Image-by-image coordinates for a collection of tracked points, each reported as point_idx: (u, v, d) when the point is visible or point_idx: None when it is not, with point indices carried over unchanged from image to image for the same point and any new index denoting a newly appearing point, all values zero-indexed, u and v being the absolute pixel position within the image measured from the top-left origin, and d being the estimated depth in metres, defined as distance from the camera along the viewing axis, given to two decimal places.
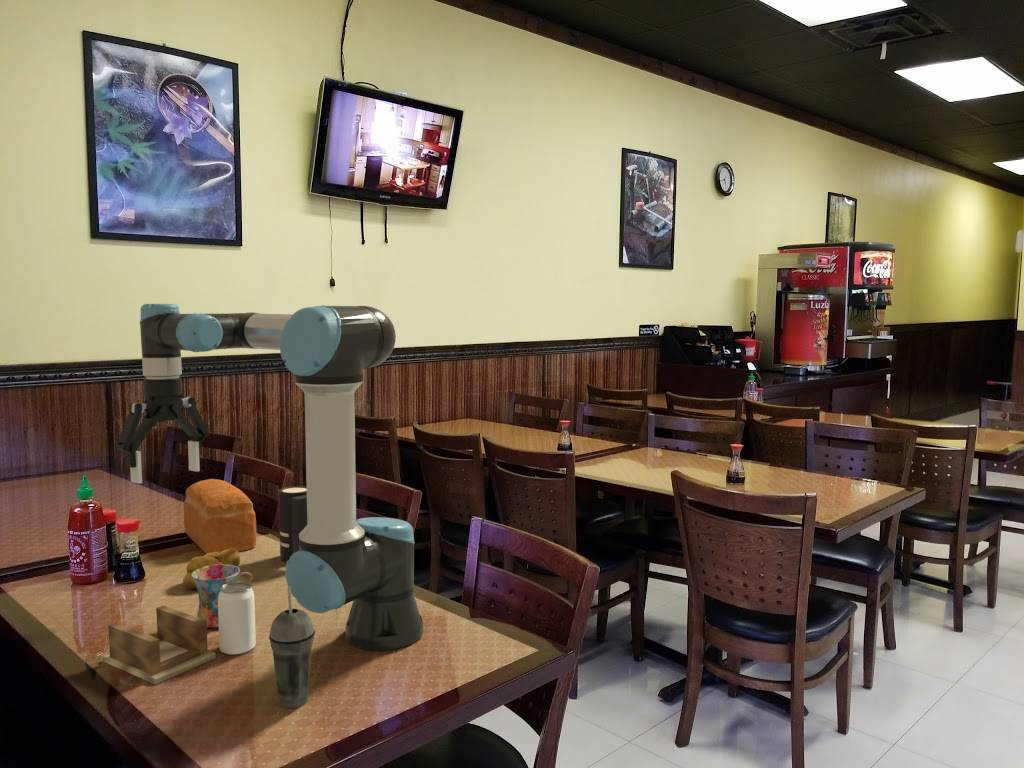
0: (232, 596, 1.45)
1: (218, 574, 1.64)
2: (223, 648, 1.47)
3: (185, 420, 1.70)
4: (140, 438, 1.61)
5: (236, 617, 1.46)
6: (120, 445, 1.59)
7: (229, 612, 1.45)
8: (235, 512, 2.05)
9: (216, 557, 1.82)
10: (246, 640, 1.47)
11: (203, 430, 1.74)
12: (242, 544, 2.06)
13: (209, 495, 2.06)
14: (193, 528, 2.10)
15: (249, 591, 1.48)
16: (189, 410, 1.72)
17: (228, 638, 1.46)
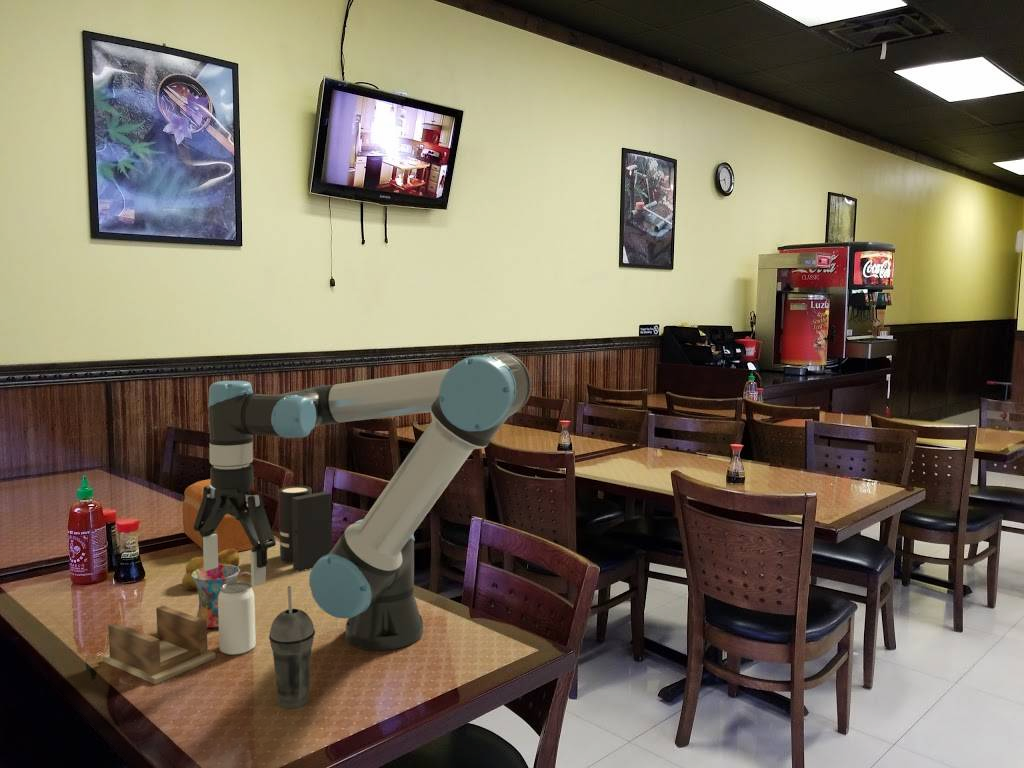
0: (232, 596, 1.45)
1: (218, 574, 1.64)
2: (223, 648, 1.47)
3: (242, 520, 1.43)
4: (206, 523, 1.49)
5: (236, 617, 1.46)
6: None
7: (229, 612, 1.45)
8: None
9: None
10: (246, 640, 1.47)
11: (259, 540, 1.41)
12: (243, 544, 2.06)
13: None
14: (193, 528, 2.10)
15: (249, 591, 1.48)
16: None
17: (228, 638, 1.46)
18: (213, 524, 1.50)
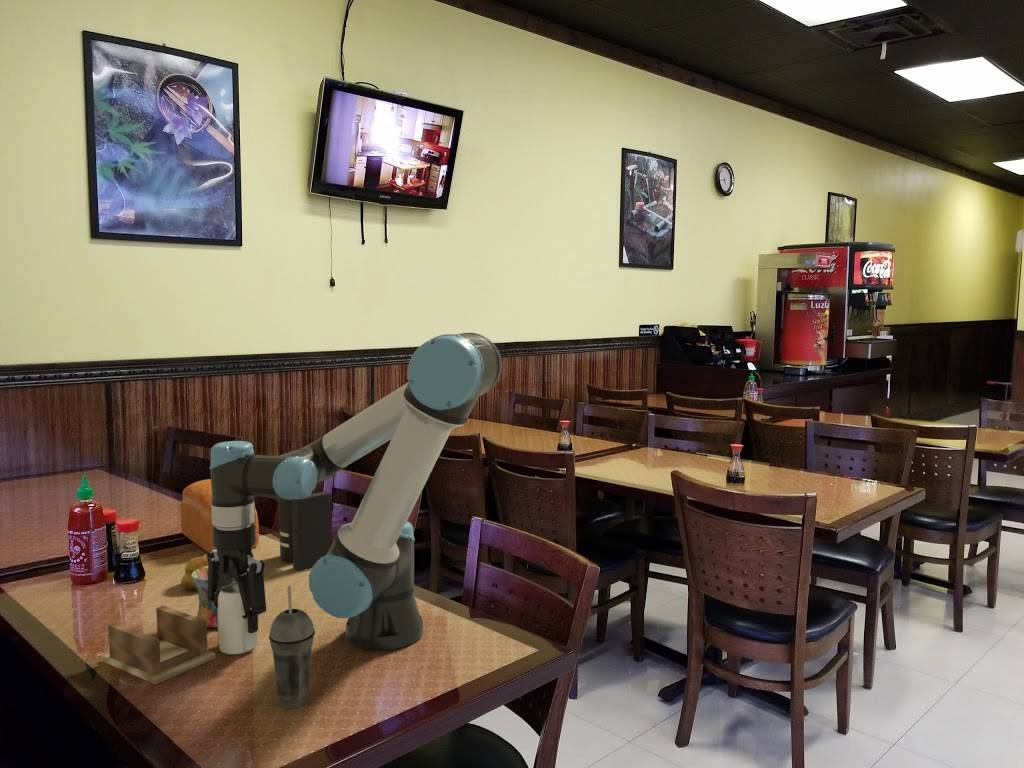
0: (232, 596, 1.45)
1: None
2: (223, 648, 1.47)
3: (240, 584, 1.45)
4: (217, 592, 1.49)
5: (236, 617, 1.46)
6: None
7: (229, 612, 1.45)
8: None
9: None
10: None
11: (251, 605, 1.44)
12: None
13: (211, 495, 2.06)
14: (193, 529, 2.10)
15: None
16: None
17: (228, 638, 1.46)
18: None
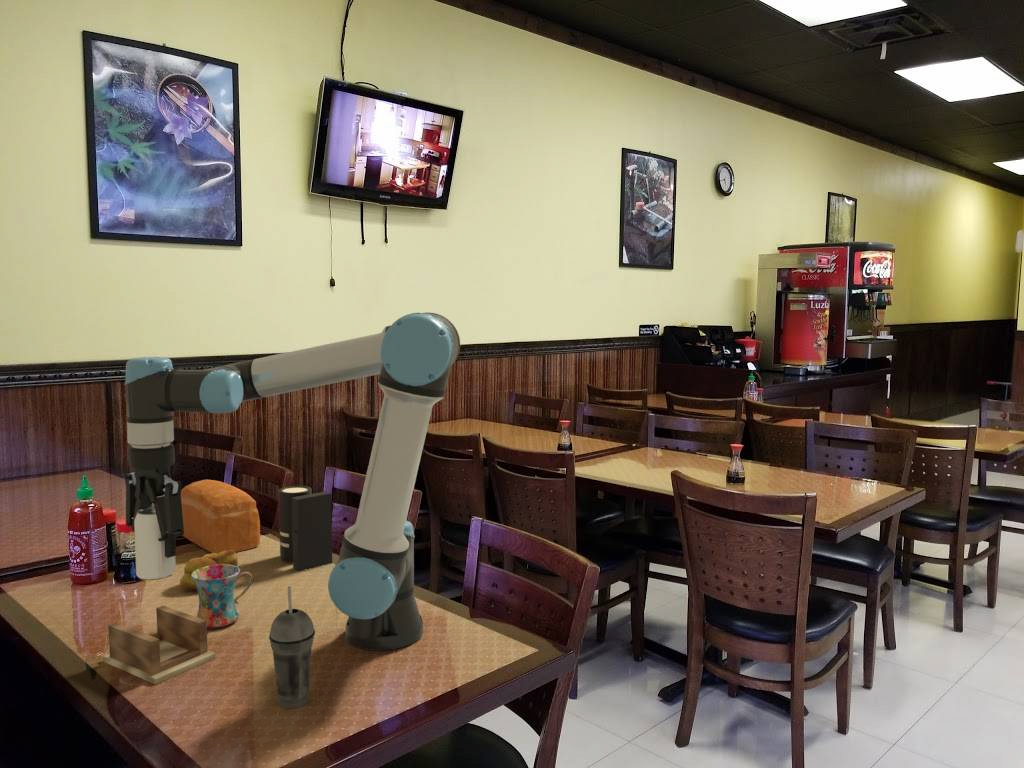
0: (148, 518, 1.39)
1: (218, 574, 1.64)
2: (139, 573, 1.40)
3: (156, 505, 1.39)
4: (135, 516, 1.43)
5: (153, 540, 1.39)
6: None
7: (145, 534, 1.39)
8: (240, 511, 2.06)
9: (214, 558, 1.81)
10: None
11: (167, 527, 1.38)
12: (247, 543, 2.07)
13: (212, 495, 2.06)
14: (194, 529, 2.09)
15: None
16: None
17: (144, 562, 1.39)
18: None
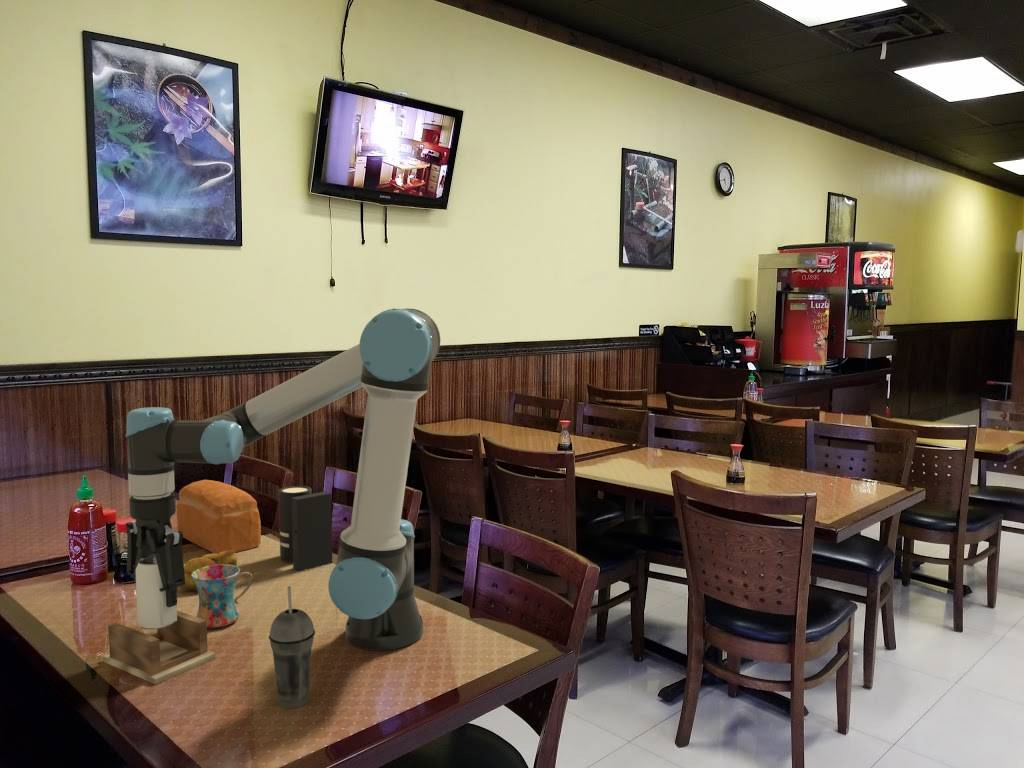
0: (149, 568, 1.40)
1: (218, 574, 1.64)
2: (141, 622, 1.41)
3: (158, 555, 1.40)
4: (136, 564, 1.44)
5: (154, 590, 1.40)
6: None
7: (146, 584, 1.40)
8: (242, 511, 2.06)
9: (213, 559, 1.81)
10: None
11: (169, 578, 1.39)
12: (248, 543, 2.07)
13: (213, 495, 2.06)
14: (194, 529, 2.09)
15: None
16: None
17: (146, 611, 1.40)
18: None
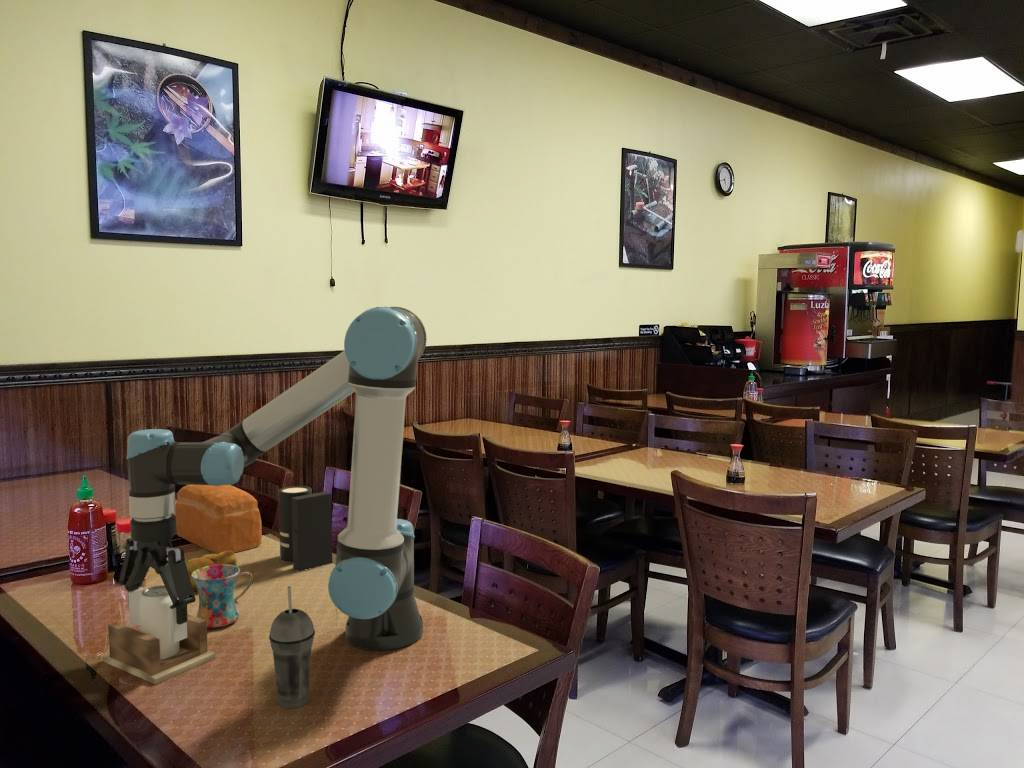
0: (154, 600, 1.40)
1: (218, 574, 1.64)
2: None
3: (163, 575, 1.39)
4: (130, 578, 1.45)
5: (158, 622, 1.41)
6: None
7: (150, 616, 1.40)
8: (243, 511, 2.06)
9: (212, 559, 1.81)
10: (168, 646, 1.42)
11: (178, 596, 1.38)
12: (250, 542, 2.08)
13: (214, 495, 2.06)
14: (194, 529, 2.09)
15: None
16: None
17: None
18: (138, 578, 1.45)
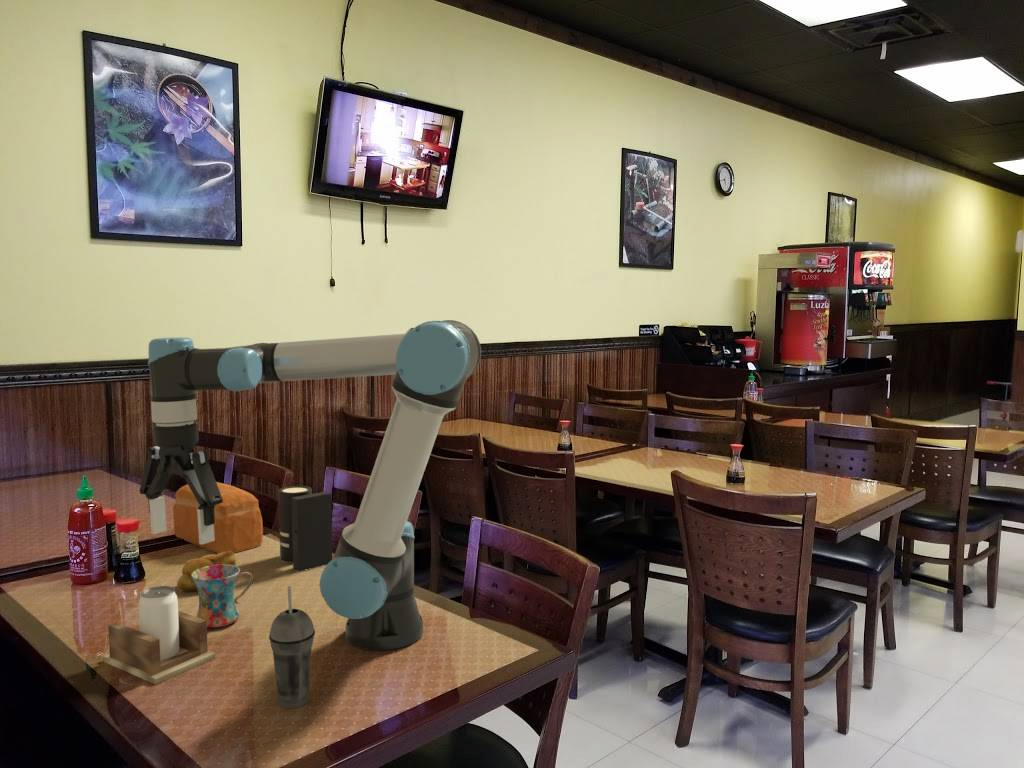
0: (153, 601, 1.40)
1: (218, 574, 1.64)
2: None
3: (188, 478, 1.41)
4: (152, 485, 1.46)
5: (157, 623, 1.40)
6: None
7: (149, 617, 1.40)
8: (245, 510, 2.07)
9: (211, 560, 1.80)
10: (168, 647, 1.42)
11: (205, 496, 1.39)
12: (252, 542, 2.08)
13: None
14: (195, 530, 2.09)
15: (171, 595, 1.42)
16: None
17: None
18: (159, 486, 1.47)
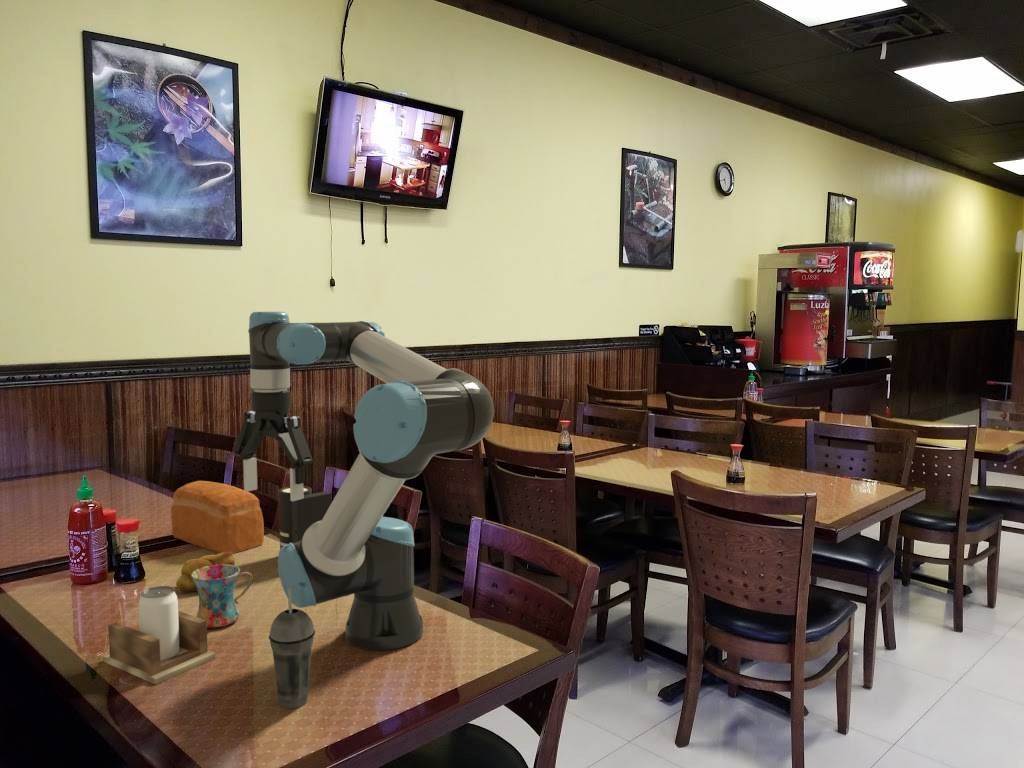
0: (153, 601, 1.40)
1: (218, 574, 1.64)
2: None
3: (282, 440, 1.54)
4: (246, 447, 1.60)
5: (157, 623, 1.40)
6: None
7: (149, 617, 1.40)
8: (247, 510, 2.07)
9: (210, 560, 1.80)
10: (168, 647, 1.42)
11: (298, 457, 1.52)
12: (253, 541, 2.09)
13: (216, 495, 2.06)
14: (195, 530, 2.08)
15: (171, 595, 1.42)
16: None
17: None
18: (253, 447, 1.60)
